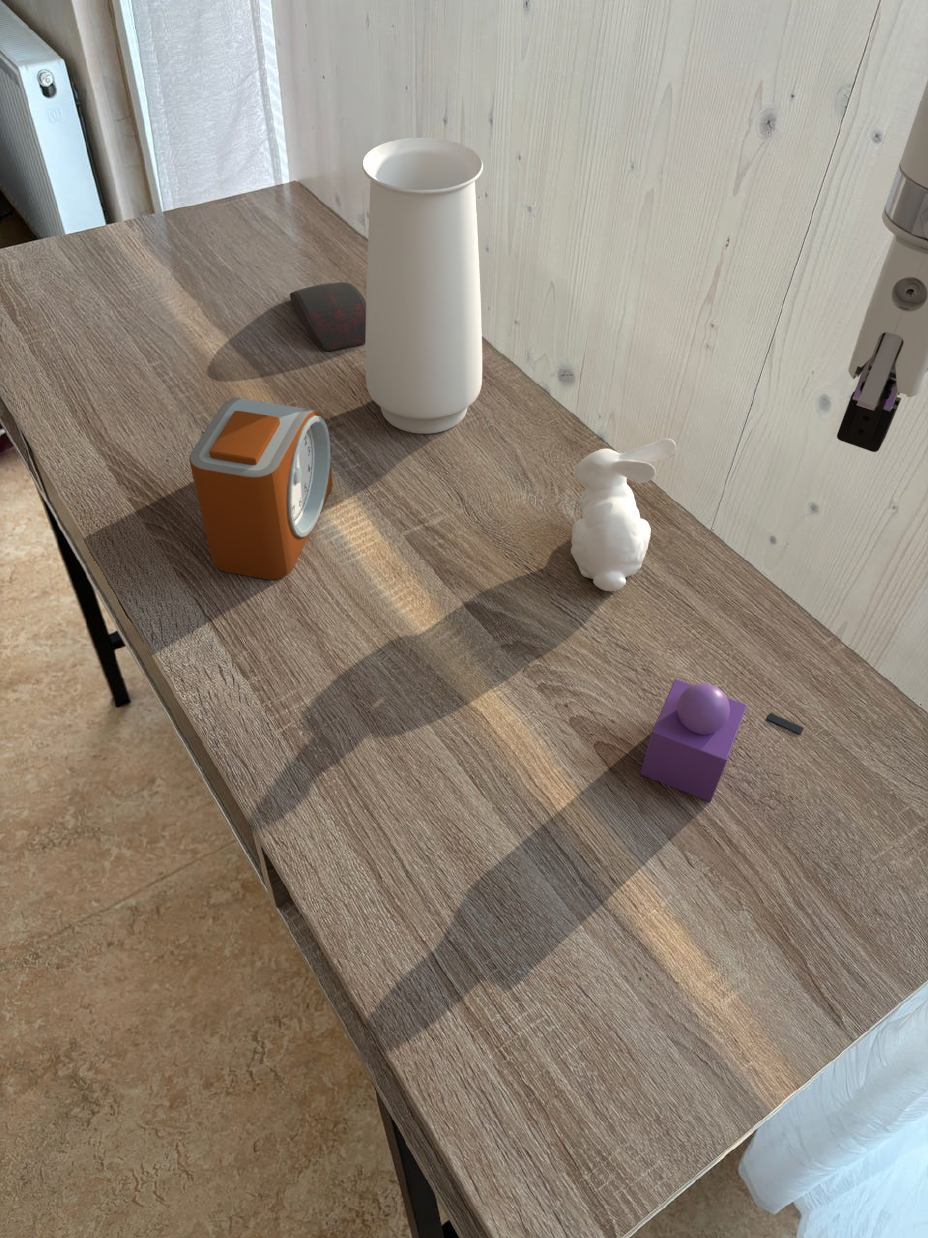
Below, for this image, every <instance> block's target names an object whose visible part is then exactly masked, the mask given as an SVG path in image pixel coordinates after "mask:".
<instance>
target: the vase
mask: <svg viewBox="0 0 928 1238" xmlns="http://www.w3.org/2000/svg"><path fill="white" fill-rule="evenodd" d="M361 168H362V171H363V173H364V175H365V176H366V177H367V178H368V179H369V180H370V185H369V186H370V187H369V210H368V233H367V234H368V235H367V263H366V291H365V292H366V296H365V301H366V340H365V344H364V345H365V347H364V351H365V355H364V356H365V357H364V360H365V361H364V362H365V363H364V364H365V369H364V371H365V386H366V390H367V392H368V394H369V397H370V398H371V399H372V400H373V402H374V403H375V404H376V405H378V406H379V407H380V410H381V413H382V415H383V417H384V418H385V420H386V421H387V422H388V423H389V424H390V425H391V426H393V427H395V428H397V429H398V430H401V431H404V432H408V433H412V434H419V435H420V434H421V435H429V434H436V433H442V432H445V431H448V430H451V429H452V428H454V427H456V426H457V425H458V424H460V423H461V422H462V420H463V419H464V418H465V416H466V414H467V411H468V408H469V407H470V406H471V405H472V404H474V402H475V401H476V400H477V399H478V397H479V395H480V393H481V390H482V386H483V385H482V384H483V333H482V331H483V329H482V328H483V327H482V303H481V302H482V301H481V299H482V298H481V279H480V278H481V275H480V256H479V254H480V253H479V234H478V233H479V232H478V216H477V197H476V195H477V194H476V181H477V180H478V178H479V177H480V176H481V175H482V173H483V170H484V163H483V160H482V158H481V157H480V155H479V154H478V153H476V151H474V150H473V149H471V148H469V147H468V146H466V145H464V144H461V143H460V142H459V143H458V142H455V141H452V140H448V139H444V138H443V139H442V138H437V137H436V138H434V137H407V138H399V139H395V140H391V141H388V142H384V143H381V144H379V145H377V146H375V147H373V148H372V149H371V150H369V151H368V152H367V153H366V154H365V156H364V157H363V159H362V163H361Z"/></svg>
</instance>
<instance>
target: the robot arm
mask: <svg viewBox="0 0 928 1238" xmlns="http://www.w3.org/2000/svg"><path fill="white" fill-rule="evenodd" d="M901 155H902V156H901V158H900V161H899V164H898V166H897V169H896V173H895V175H894V178H893V181H892V184H891V187H890V189H889V192H888V196H887V199H886V201H885V205H884V207H883V210H882V214H881V218H882V222H883V224H884V226H885V228H887V229H888V231H889V232H891V233H892V234H893V237H892V240H891V243H890V245H889V247H888V251H887V253H886V256H885V257H884V258H885V259H884V261H883V264H882V267H881V269H880V272H879V275H878V278H877V280H876V283H875V286H874V290H873V292H872V295H871V297H870V300H869V304H868V305H867V309H866V312H865V315H864V318H863V321H862V324H861V327H860V329H859V333H858V335H857V336H858V337H857V339H856V343H855V345H854V348H853V352H852V354H851V355H852V356H851V358H850V362H849V365H848V370H847V371H848V373H849V376H850V377H851V379H852V380H855V379H856V378H859V379H858V382H857V385H856V387H855V389H854V391H853V392H852V393H851V396H850V398H849V401H848V404H847V406H846V409H845V412H844V415H843V416H842V417H843V418H842V420H841V423H840V425H839V428H838V431H837V433H836V439H837V440H839V441H840V442H844V443H845V444H849V445H852V446H854V447H857V448H860V449H863V450H866V451H869V452H872V453H876V452H879V450H880V449H881V447H882V445H883V443H884V442H885V439H886V437H887V435H888V432H889V431H890V430H889V429H890V428H891V425H892V422H893V420H894V417H895V415H896V413H897V411H898V408H899V405H900V403H901V400H902V397H899V396H900V395H901V394H903V395H906V398H912V397H915V396H917V395H918V394H920V392H921V391H922V389H923V387H924V386H925V384H926V382H927V380H928V80H927V82H926V85H925V88H924V90H923V93H922V96H921V100H920V101H919V104H918V107H917V110H916V113H915V116H914V120H913V122H912V125H911V129H910V131H909V134H908V138H907V140H906V143H905V146H904V150H903V153H902V154H901Z"/></svg>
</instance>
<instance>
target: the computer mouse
mask: <svg viewBox="0 0 928 1238" xmlns="http://www.w3.org/2000/svg"><path fill="white" fill-rule="evenodd" d="M289 298H290V300H291V302H292V304H293V306H294V308H295V310H296V312H297V315H298V316H299V318H300V321H301V322H302V324H303V325H304V327H305V328H306V330H307V332H308V334H309V336H310V337H311V339H312V340H313V342H315V343H316V344H317V345H318V346H319V347H320V348H321V349H323V350H325V351H326V352H334V351H338V350H342V349H346V348H347V349H348V348H351V347H357V346H361V345H365V340H366V298H365V297H364V295H363V294H362V293H361V291H360V290H359V289H358V288H357V287H356V286H355V285H354V284H352V283H350V282H345V281H341V282H340V281H339V282H330V283H322V284H316V285H312V286H308V287H304V288H301V289H297V290H294V291H291V292H290V293H289Z"/></svg>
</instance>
